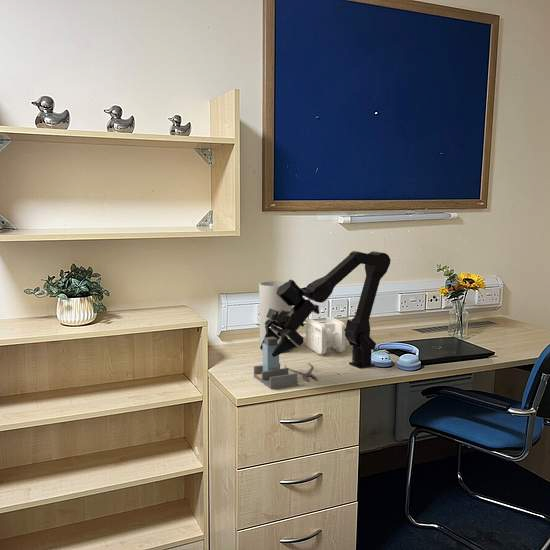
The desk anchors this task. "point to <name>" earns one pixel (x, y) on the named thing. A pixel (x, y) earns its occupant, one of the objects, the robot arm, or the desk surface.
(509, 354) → the desk surface
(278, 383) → the grey slotted holder
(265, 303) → the cylinder vase
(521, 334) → the desk surface
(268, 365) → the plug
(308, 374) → the pliers
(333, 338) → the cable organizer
